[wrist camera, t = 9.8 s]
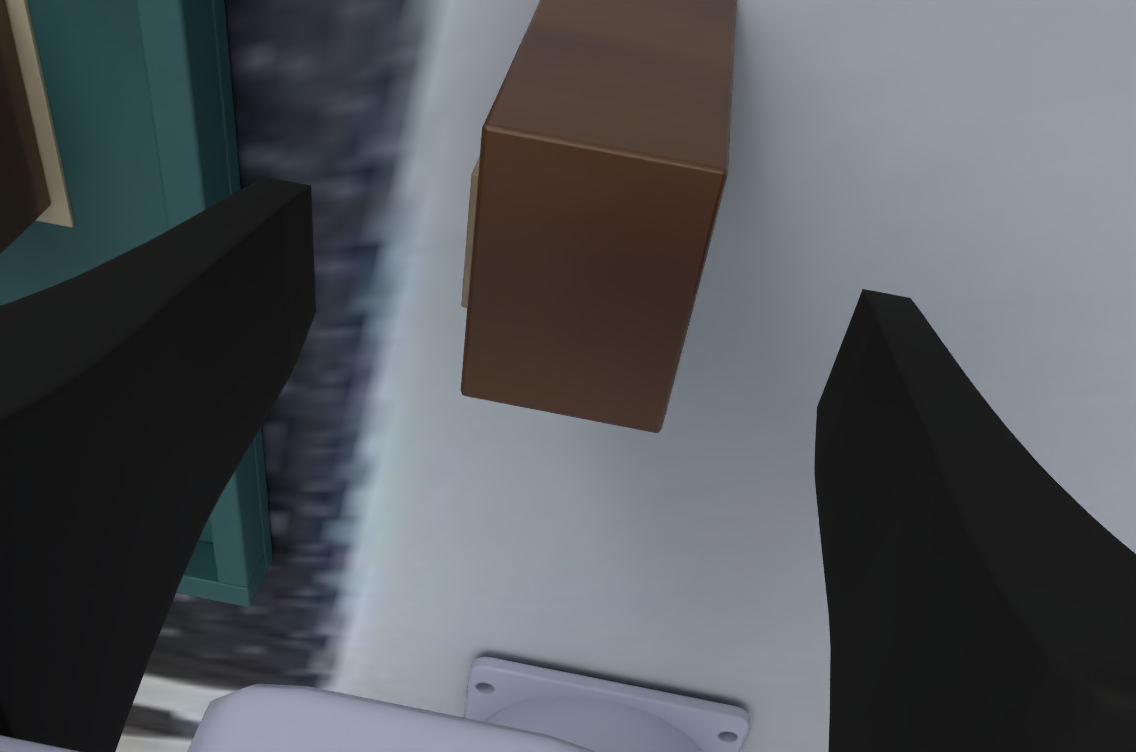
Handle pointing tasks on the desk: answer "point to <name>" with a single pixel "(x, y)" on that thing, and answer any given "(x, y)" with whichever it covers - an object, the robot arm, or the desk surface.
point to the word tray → (145, 195)
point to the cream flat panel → (40, 114)
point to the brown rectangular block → (597, 206)
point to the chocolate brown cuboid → (17, 146)
